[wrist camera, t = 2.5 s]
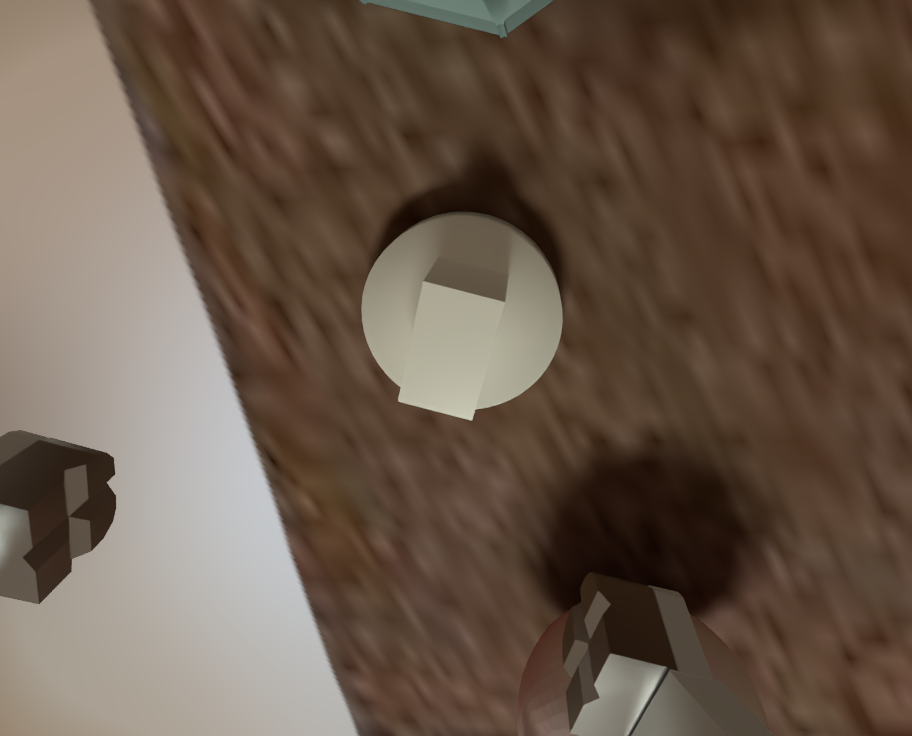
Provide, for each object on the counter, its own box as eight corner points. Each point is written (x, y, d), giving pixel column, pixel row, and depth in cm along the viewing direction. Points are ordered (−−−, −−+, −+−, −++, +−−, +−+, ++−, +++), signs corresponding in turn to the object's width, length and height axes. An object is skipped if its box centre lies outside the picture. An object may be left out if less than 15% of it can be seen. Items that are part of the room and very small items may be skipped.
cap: (586, 239, 19) (602, 272, 15) (529, 411, 22) (530, 477, 18) (389, 188, 19) (351, 208, 15) (359, 366, 22) (321, 422, 18)
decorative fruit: (728, 530, 23) (857, 798, 14) (722, 668, 26) (823, 959, 17) (502, 539, 25) (487, 784, 16) (522, 668, 28) (519, 933, 19)
